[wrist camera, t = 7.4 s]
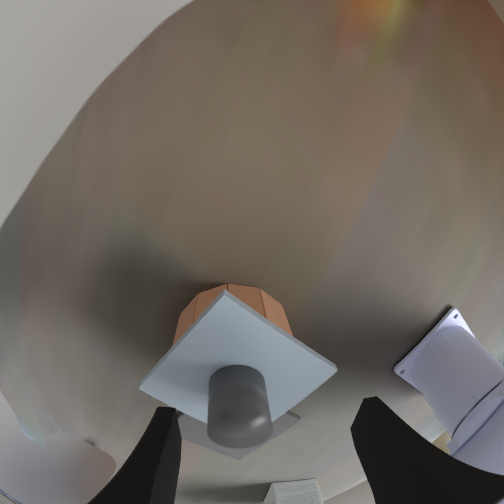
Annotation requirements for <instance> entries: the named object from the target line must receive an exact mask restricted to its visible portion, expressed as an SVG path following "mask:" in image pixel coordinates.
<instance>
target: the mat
mask: <svg viewBox="0 0 504 504" xmlns="http://www.w3.org/2000/svg"><path fill="white" fill-rule="evenodd" d="M177 418H178V423H179V428H180V433H181V437H182V438H184V439H186V440H189V441H191V442H193V443H196V444H198V445H201V446H203V447H206V448H208V449H211V450H213V451H216V452H219V453H221V454H224V455H227V456H230V457H233V458H236V459H241V458H242V457H244V456H246V455H247V454H249V453H251V452H252V451H254V450H256V449H257V448H259V447H261V446H262V445H264V444H265V443H267V442H268V441H270V440H272V439H273V438H275V437H276V436H278V435H279V434H281V433H282V432H284V431H285V430H287V429H288V428H290V427H291V426H292V425H294V424H295V423H297V422H298V421H300V420H301V419H300V416H297V415H295V414H293V413H290V412H288V411H287V412H286V413H284V414H283V415H282V416H280V417H279V418H277V419H276V420H275V421H273V422H272V425H273V433H272V435H271V436H270V438H269V439H268V440H266V441H265V442H263V443H262V444H259V445H257V446H254V447H250V448H241V449H235V448H227V447H223V446H220V445H218V444H216V443H214V442H213V441H212V440H211V439H210V438H209V437H208V434H207V424H206V423H204V422H202V421H200V420H198V419H196V418H193V417H191V416H189V415H187V414H185V413H183V412H182V413H181V414H180V415H178V416H177Z"/></svg>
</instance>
